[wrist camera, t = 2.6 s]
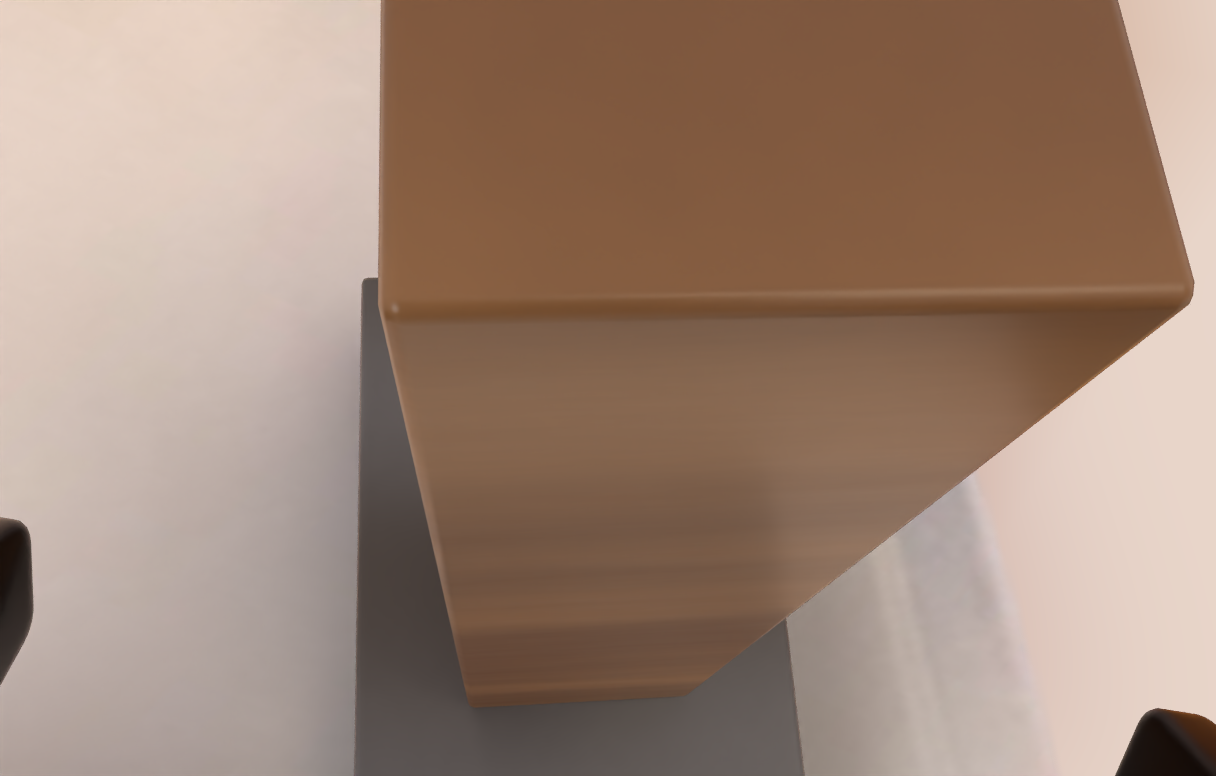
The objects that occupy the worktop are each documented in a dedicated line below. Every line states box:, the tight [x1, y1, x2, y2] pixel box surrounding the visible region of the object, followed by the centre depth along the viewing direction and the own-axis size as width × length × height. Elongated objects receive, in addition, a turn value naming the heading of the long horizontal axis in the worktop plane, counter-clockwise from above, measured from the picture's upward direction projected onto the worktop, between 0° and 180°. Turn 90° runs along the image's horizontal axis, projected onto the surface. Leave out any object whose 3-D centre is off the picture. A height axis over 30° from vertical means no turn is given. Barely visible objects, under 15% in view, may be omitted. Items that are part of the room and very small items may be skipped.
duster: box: [354, 0, 1194, 776], centre depth 12 cm, size 10×6×15 cm, turn 4°
